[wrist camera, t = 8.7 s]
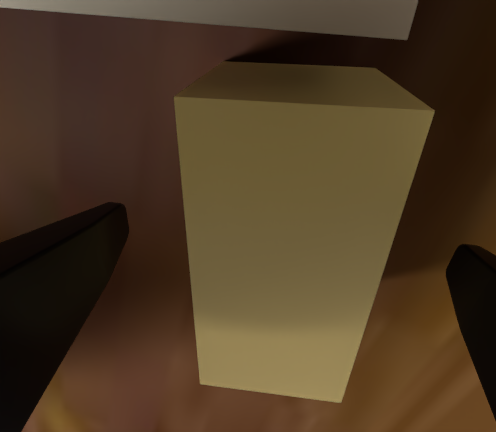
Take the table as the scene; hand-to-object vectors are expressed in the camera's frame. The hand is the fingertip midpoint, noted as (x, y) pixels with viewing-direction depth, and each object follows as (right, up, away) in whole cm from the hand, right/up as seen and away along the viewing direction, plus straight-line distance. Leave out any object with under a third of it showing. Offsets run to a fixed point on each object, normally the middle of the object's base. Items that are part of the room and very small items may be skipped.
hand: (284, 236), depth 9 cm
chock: (0, +1, +2) cm, 2 cm away
